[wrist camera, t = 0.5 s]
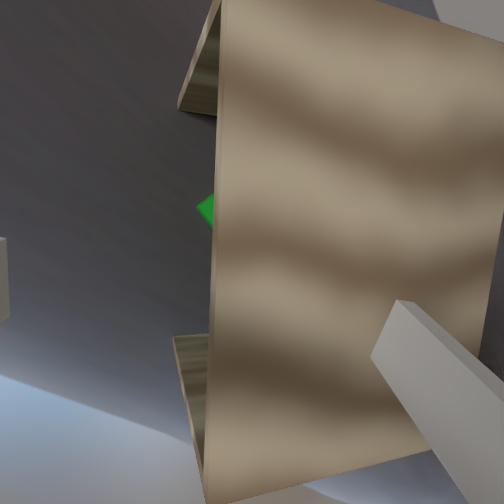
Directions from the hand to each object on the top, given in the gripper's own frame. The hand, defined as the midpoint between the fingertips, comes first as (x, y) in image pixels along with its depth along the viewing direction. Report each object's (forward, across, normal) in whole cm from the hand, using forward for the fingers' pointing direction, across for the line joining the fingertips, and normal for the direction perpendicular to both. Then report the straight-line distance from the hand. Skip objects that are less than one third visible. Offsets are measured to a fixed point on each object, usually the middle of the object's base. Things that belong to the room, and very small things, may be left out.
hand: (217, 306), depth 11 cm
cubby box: (+23, +6, -4) cm, 24 cm away
